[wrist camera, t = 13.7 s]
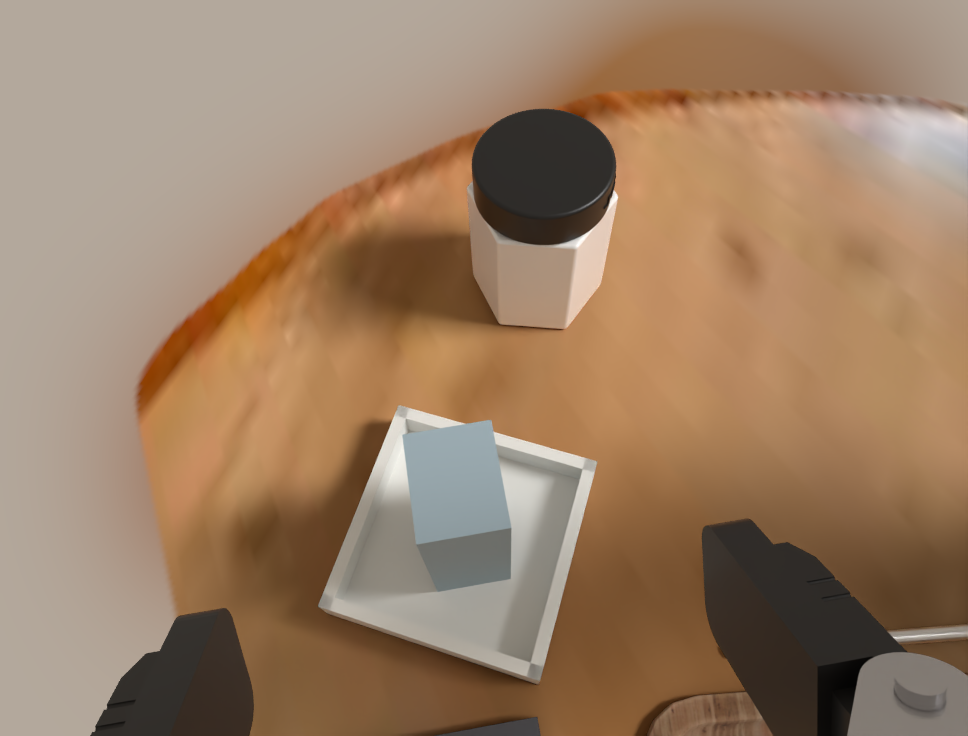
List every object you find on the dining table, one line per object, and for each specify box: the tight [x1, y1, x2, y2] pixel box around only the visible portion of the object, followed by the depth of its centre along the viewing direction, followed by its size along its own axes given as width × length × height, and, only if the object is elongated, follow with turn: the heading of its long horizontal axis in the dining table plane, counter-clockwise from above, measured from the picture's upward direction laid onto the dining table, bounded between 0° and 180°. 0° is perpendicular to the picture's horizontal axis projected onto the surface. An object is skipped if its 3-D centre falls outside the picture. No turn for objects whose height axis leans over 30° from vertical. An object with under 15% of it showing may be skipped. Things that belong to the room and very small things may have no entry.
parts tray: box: [318, 405, 597, 685], centre depth 43 cm, size 12×12×2 cm
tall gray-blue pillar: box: [402, 420, 511, 592], centre depth 38 cm, size 4×5×11 cm
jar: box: [467, 109, 618, 329], centre depth 47 cm, size 9×8×12 cm
